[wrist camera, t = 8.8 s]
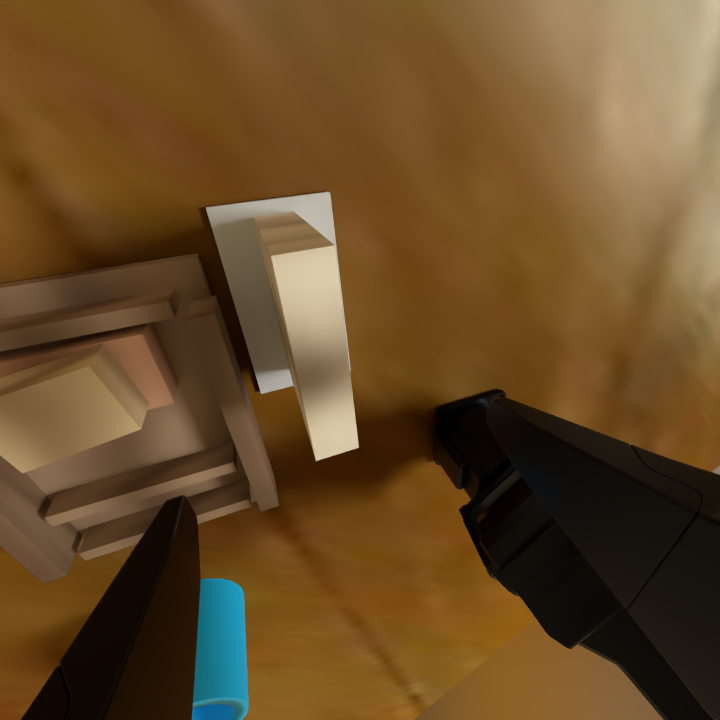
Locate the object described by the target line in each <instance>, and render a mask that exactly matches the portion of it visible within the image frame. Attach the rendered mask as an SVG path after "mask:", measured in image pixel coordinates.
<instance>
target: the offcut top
mask: <svg viewBox="0 0 720 720" xmlns="http://www.w3.org/2000/svg"><path fill="white" fill-rule="evenodd" d="M148 406H149V402H148V401H147V400H146V398H145V397H144V396H143V394H142V393H141V392H140V390H139V389H138V388H137V386H136V385H135V384H134V383H133V381H132V380H131V379H130V377H129V376H128V375H127V373H126V372H125V371H124V369H123V368H122V367H121V365H120V364H119V363H118V361H117V360H116V359H115V358H114V356H113V355H112V354H111V352H110V351H109V350H108V348H107V347H106V346H105V344H101V345H98V346H95V347H92V348H89V349H86V350H83V351H80V352H77V353H74V354H71V355H68V356H65V357H62V358H59V359H56V360H53V361H50V362H47V363H44V364H41V365H38V366H35V367H32V368H29V369H26V370H23V371H19V372H16V373H13V374H10V375H7V376H4V377H1V378H0V456H2V457H3V458H4V459H5V460H7V461H8V462H9V463H10V464H11V465H13V466H14V467H15V468H16V469H18V470H19V471H20V472H21V473H25V472H28V471H30V470H33V469H36V468H39V467H41V466H44V465H47V464H49V463H52V462H55V461H57V460H60V459H63V458H65V457H68V456H71V455H73V454H76V453H79V452H81V451H84V450H87V449H89V448H92V447H95V446H98V445H100V444H103V443H106V442H108V441H111V440H114V439H116V438H119V437H122V436H124V435H127V434H130V433H132V432H135V431H138V430H140V429H141V428H142V425H143V422H144V418H145V415H146V412H147V409H148Z"/></svg>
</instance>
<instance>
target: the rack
mask: <svg viewBox="0 0 720 720" xmlns="http://www.w3.org/2000/svg"><path fill="white" fill-rule="evenodd" d="M150 322H152V323H153V325H154V327H155V329H156V332H157V334H158V336H159V338H160V340H161V343H162V345H163V347H164V349H165V352H166V354H167V356H168V358H169V361H170V363H171V365H172V367H173V369H174V372H175V374H176V376H177V378H178V381H179V386H178V390H177V395H176V400H175V403H174V404H170V405H166V406H162V407H158V408H153V409H149V410H147V412H146V415H145V418H144V422H143V425H142V428H141V429H140V430H138V431H135V432H132V433H130V434H127V435H124V436H122V437H119V438H116V439H114V440H111V441H108V442H106V443H103V444H100V445H98V446H95V447H92V448H89V449H87V450H84V451H81V452H79V453H76V454H73V455H71V456H68V457H65V458H63V459H60V460H57V461H55V462H52V463H49V464H47V465H44V466H41V467H39V468H36V469H33V470H30V471H28V472H25V473H21V472H20V471H19V470H18V469H16V468H15V467H14V466H13V465H11V464H10V463H9V462H8V461H7V460H5V459H4V458H3V457H2V456H0V546H1V547H2V548H3V549H4V550H5V551H6V552H8V553H9V554H10V555H11V556H12V557H13V558H14V559H16V560H17V561H18V562H19V563H20V564H21V565H23V566H24V567H25V568H26V569H27V570H28V571H30V572H31V573H32V574H33V575H34V576H35V577H36V578H38V579H39V580H40V581H41V582H42V583H43V584H45V583H48V582H51V581H54V580H57V579H60V578H63V577H66V576H68V573H69V571H70V568H71V565H72V563H73V560H74V557H75V555H76V552H78V553H79V555H80V556H81V557H82V558H83V559H84V560H85V561H86V560H90V559H93V558H96V557H99V556H102V555H105V554H108V553H111V552H114V551H117V550H120V549H123V548H126V547H129V546H132V545H135V544H137V543H138V542H139V540H140V539H141V537H142V536H143V534H144V533H145V531H146V530H147V528H148V527H149V525H150V524H151V522H152V521H153V519H154V518H155V516H156V515H157V513H158V512H159V510H160V508H161V507H162V505H163V504H164V503H165V501H166V500H168V499H170V498H173V497H177V496H180V495H184V496H186V497H187V499H188V501H189V503H190V504H191V506H192V508H193V510H194V512H195V513H196V516H197V521H198V524H200V523H203V522H206V521H209V520H212V519H215V518H218V517H221V516H224V515H227V514H230V513H233V512H236V511H239V510H242V509H246V508H249V507H252V505H251V503H252V502H255V501H257V503H258V506H259V508H260V511H261V512H262V511H265V510H268V509H271V508H274V507H277V506H279V503H278V496H277V489H276V483H275V476H274V473H273V470H272V467H271V464H270V461H269V457H268V454H267V451H266V448H265V445H264V442H263V439H262V436H261V433H260V430H259V427H258V423H257V420H256V417H255V414H254V411H253V408H252V405H251V402H250V399H249V396H248V392H247V389H246V386H245V383H244V380H243V377H242V374H241V371H240V368H239V365H238V362H237V358H236V355H235V352H234V349H233V346H232V343H231V340H230V337H229V334H228V331H227V327H226V324H225V321H224V318H223V315H222V312H221V309H220V306H219V303H218V300H217V297H216V295H214V296H212V294H211V291H210V288H209V285H208V282H207V279H206V276H205V273H204V270H203V267H202V264H201V261H200V258H199V255H198V253H195V254H189V255H182V256H176V257H170V258H163V259H157V260H150V261H144V262H138V263H131V264H125V265H118V266H112V267H106V268H99V269H93V270H86V271H80V272H74V273H67V274H61V275H54V276H48V277H41V278H35V279H29V280H22V281H16V282H9V283H3V284H0V352H1V351H6V350H11V349H16V348H22V347H27V346H32V345H37V344H42V343H47V342H53V341H58V340H63V339H68V338H73V337H78V336H83V335H89V334H94V333H99V332H104V331H109V330H114V329H119V328H125V327H130V326H135V325H140V324H145V323H150Z"/></svg>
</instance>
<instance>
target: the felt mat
mask: <svg viewBox="0 0 720 720" xmlns="http://www.w3.org/2000/svg"><path fill="white" fill-rule="evenodd" d="M206 210H207V214H208V217H209V220H210V224H211V227H212V230H213V234H214V237H215V240H216V244H217V247H218V251H219V254H220V257H221V261H222V264H223V267H224V271H225V274H226V277H227V281H228V284H229V288H230V291H231V294H232V298H233V301H234V304H235V308H236V311H237V314H238V318H239V321H240V325H241V328H242V331H243V335H244V338H245V341H246V345H247V348H248V351H249V355H250V358H251V362H252V365H253V368H254V372H255V375H256V378H257V382H258V385H259V388H260V392H261V394H263V393H267V392H271V391H275V390H279V389H283V388H286V387H290V386H294V384H293V381H292V378H291V374H290V371H289V367H288V363H287V358H286V354H285V350H284V345H283V341H282V337H281V333H280V328H279V324H278V320H277V315H276V311H275V307H274V302H273V298H272V294H271V290H270V285H269V281H268V277H267V272H266V268H265V264H264V259H263V255H262V251H261V247H260V242H259V238H258V234H257V229H256V225H255V221H254V217H257V216H264V215H271V214H279V213H286V212H293V211H294V212H295V213H297V214H298V215H299V216H300V217H301V218H303V219H304V220H305V221H306V222H307V223H309V224H310V225H311V226H312V227H313V228H315V229H316V230H317V231H318V232H319V233H321V234H322V235H323V236H324V237H325V238H327V239H328V240H329V241H330V242H332V243H333V244H334V245H335V250H336V258H337V267H338V275H339V284H340V292H341V283H340V274H339V266H338V257H337V248H336V240H335V231H334V223H333V214H332V205H331V197H330V192H329V191H327V192H319V193H312V194H304V195H296V196H288V197H280V198H273V199H265V200H257V201H249V202H241V203H233V204H226V205H218V206H210V207H206ZM341 301H342V309H343V300H342V292H341ZM343 317H344V309H343ZM344 326H345V318H344ZM345 334H346V326H345ZM346 343H347V335H346ZM347 351H348V343H347ZM348 360H349V352H348ZM349 368H350V361H349ZM350 371H351V369H350Z"/></svg>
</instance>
